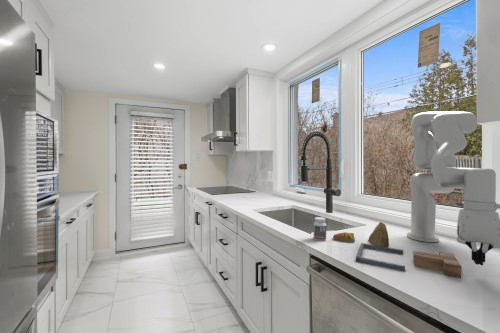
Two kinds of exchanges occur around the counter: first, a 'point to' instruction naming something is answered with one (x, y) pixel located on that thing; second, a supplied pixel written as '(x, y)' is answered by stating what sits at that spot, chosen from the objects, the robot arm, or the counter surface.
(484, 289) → the counter surface
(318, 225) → the pill bottle
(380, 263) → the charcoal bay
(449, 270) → the t block
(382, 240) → the rock
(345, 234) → the pastry
